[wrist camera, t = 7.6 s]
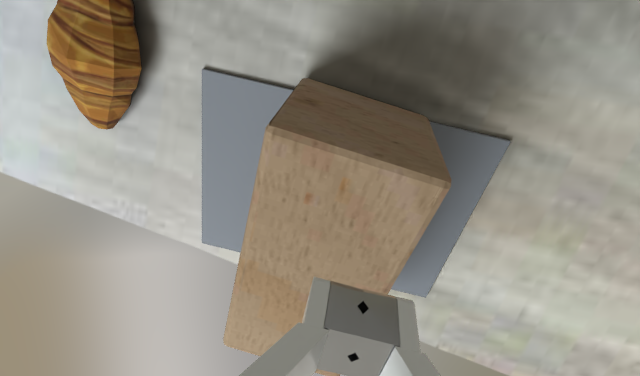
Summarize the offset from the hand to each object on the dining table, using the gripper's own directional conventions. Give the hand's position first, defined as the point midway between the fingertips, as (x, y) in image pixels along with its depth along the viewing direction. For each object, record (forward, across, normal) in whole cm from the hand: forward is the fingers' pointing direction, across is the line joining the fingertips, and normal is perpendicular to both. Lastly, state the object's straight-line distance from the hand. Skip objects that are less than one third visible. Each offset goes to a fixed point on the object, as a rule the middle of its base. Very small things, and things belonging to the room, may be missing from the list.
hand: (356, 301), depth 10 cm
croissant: (+19, +20, 0) cm, 28 cm away
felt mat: (+19, +1, +9) cm, 21 cm away
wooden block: (+13, 0, -1) cm, 13 cm away
